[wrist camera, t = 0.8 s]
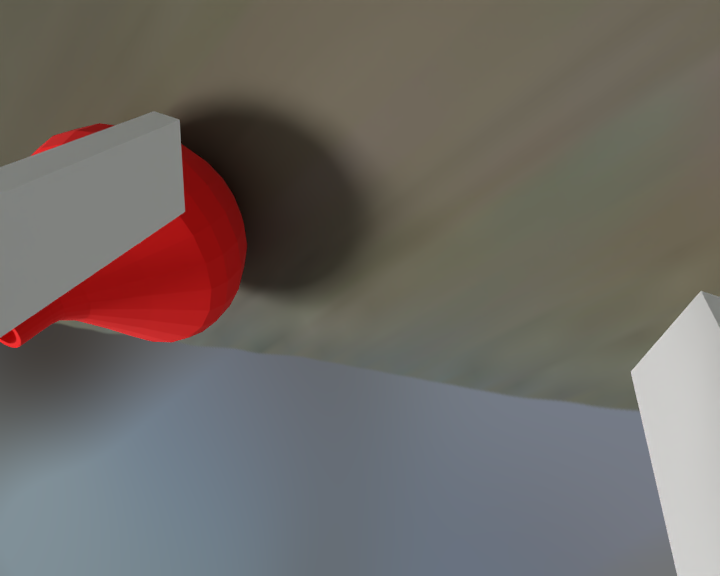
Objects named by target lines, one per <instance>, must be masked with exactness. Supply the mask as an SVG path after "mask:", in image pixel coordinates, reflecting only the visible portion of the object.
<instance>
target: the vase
mask: <svg viewBox="0 0 720 576" xmlns="http://www.w3.org/2000/svg"><path fill="white" fill-rule="evenodd" d="M112 126H115V125H107V124H100V123H99V124H95V125H91V126H87V127H82V128H78V129H75V130H71V131H68V132H64V133H61V134H57V135H54V136H52V137H51V138H50V139H49V140H48V141H46V142H45V143H44V144H43V145H42V146H40V147H39V148H38V149H37V150H36V151H35V152H34V153H33V154H32V155H31V156H33V155H35V154H38V153H41V152H44V151H46V150H49V149H52V148H55V147H57V146H60V145H63V144H66V143H68V142H71V141H74V140H77V139H79V138H82V137H85V136H88V135H90V134H93V133H96V132H98V131H101V130H104V129H107V128H109V127H112ZM181 151H182V168H183V185H184V202H185V212H184V213H183V214H181V215H180V216H178V217H177V218H175V219H174V220H172V221H171V222H169V223H168V224H166V225H165V226H164V227H162V228H161V229H159V230H158V231H156V232H155V233H153V234H152V235H150V236H149V237H147V238H146V239H144V240H143V241H141V242H140V243H139V244H137V245H136V246H134V247H133V248H131V249H130V250H128V251H127V252H125V253H124V254H122V255H121V256H119V257H118V258H116V259H115V260H114V261H112V262H111V263H109V264H108V265H106V266H105V267H103V268H102V269H100V270H99V271H97V272H96V273H94V274H93V275H92V276H90V277H89V278H87V279H86V280H84V281H83V282H81V283H80V284H78V285H77V286H75V287H74V288H72V289H71V290H69V291H68V292H67V293H65V294H64V295H62V296H61V297H59V298H58V299H56V300H55V301H53V302H52V303H50V304H49V305H47V306H46V307H45V308H43V309H42V310H40V311H39V312H37V313H36V314H34V315H33V316H31V317H30V318H28V319H27V320H25V321H24V322H22V323H21V324H20V325H18V326H17V327H15V328H14V329H12V330H11V331H9V332H8V333H6V334H5V335H3V336H2V337H0V342H1V343H3V344H5V345H7V346H9V347H13V348H17V347H19V346H21V345H22V344H24V343H25V342H27V341H28V340H29V339H31V338H32V337H34V336H35V335H36V334H38V333H39V332H40V331H42V330H44V329H45V328H46V327H48V326H49V325H51V324H53V323H55V322H57V321H59V320H76V321H80V322H84V323H88V324H92V325H96V326H100V327H104V328H108V329H111V330H114V331H117V332H121V333H124V334H127V335H131V336H134V337H137V338H142V339H145V340H149V341H153V342H174V341H178V340H181V339H185V338H188V337H191V336H193V335H196V334H198V333H200V332H203V331H204V330H205V329H206V328H208V327H209V326H210V325H212V324H213V323H214V322H215V321H217V319H218V318H219V317H220V316H221V315H222V314H223V313H224V312H225V310H226V309H227V308H228V307H229V306H230V304H231V302H232V301H233V299H234V297H235V295H236V293H237V291H238V289H239V285H240V281H241V277H242V273H243V269H244V265H245V258H246V251H247V242H246V235H245V228H244V222H243V219H242V215H241V212H240V210H239V207H238V205H237V202H236V200H235V197H234V195H233V194H232V192H231V190H230V189H229V187H228V186H227V184H226V183H225V181H224V179H223V178H222V177H221V176H220V175H219V174H218V173H217V172H216V171H215V170H214V168H213V167H212V166H211V165H210V164H209V163H208V162H206V161H205V160H204V159H202V158H201V157H199V156H198V155H197V154H195V153H194V152H192V151H191V150H190V149H188V148H187V147H185V146H184V145H183V144H181Z"/></svg>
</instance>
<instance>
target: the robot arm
mask: <svg viewBox="0 0 720 576" xmlns="http://www.w3.org/2000/svg"><path fill="white" fill-rule="evenodd" d="M184 212H185V202H184V185H183V168H182V151H181V134H180V120H179V119H176V118H173V117H170V116H167V115H164V114H161V113H158V112H155V111H153V112H151V113H148V114H145V115H142V116H140V117H137V118H134V119H131V120H129V121H126V122H123V123H120V124H118V125H115V126H112V127H109V128H107V129H104V130H101V131H98V132H96V133H93V134H90V135H88V136H85V137H82V138H79V139H77V140H74V141H71V142H68V143H66V144H63V145H60V146H57V147H55V148H52V149H49V150H46V151H44V152H41V153H38V154H35V155H33V156H30V157H27V158H24V159H22V160H19V161H16V162H13V163H11V164H8V165H5V166H3V167H0V337H2V336H3V335H5V334H6V333H8V332H9V331H11V330H12V329H14V328H15V327H17V326H18V325H20V324H21V323H22V322H24V321H25V320H27V319H28V318H30V317H31V316H33V315H34V314H36V313H37V312H39V311H40V310H42V309H43V308H45V307H46V306H47V305H49V304H50V303H52V302H53V301H55V300H56V299H58V298H59V297H61V296H62V295H64V294H65V293H67V292H68V291H69V290H71V289H72V288H74V287H75V286H77V285H78V284H80V283H81V282H83V281H84V280H86V279H87V278H89V277H90V276H92V275H93V274H94V273H96V272H97V271H99V270H100V269H102V268H103V267H105V266H106V265H108V264H109V263H111V262H112V261H114V260H115V259H116V258H118V257H119V256H121V255H122V254H124V253H125V252H127V251H128V250H130V249H131V248H133V247H134V246H136V245H137V244H139V243H140V242H141V241H143V240H144V239H146V238H147V237H149V236H150V235H152V234H153V233H155V232H156V231H158V230H159V229H161V228H162V227H164V226H165V225H166V224H168V223H169V222H171V221H172V220H174V219H175V218H177V217H178V216H180V215H181V214H183V213H184ZM631 375H632V379H633V384H634V388H635V392H636V397H637V401H638V405H639V410H640V414H641V418H642V423H643V427H644V431H645V436H646V440H647V445H648V449H649V454H650V458H651V462H652V466H653V471H654V475H655V480H656V484H657V489H658V493H659V497H660V502H661V506H662V510H663V515H664V519H665V523H666V528H667V532H668V536H669V541H670V545H671V550H672V554H673V558H674V563H675V567H676V571H677V576H720V297H718V296H715V295H712V294H709V293H706V292H703V291H700V293H699V294H698V295H697V296H696V297H695V298H694V299H693V301H692V302H691V303H690V304H689V305H688V306H687V308H686V309H685V310H684V311H683V312H682V313H681V314H680V316H679V317H678V318H677V319H676V320H675V321H674V323H673V324H672V325H671V326H670V327H669V328H668V329H667V331H666V332H665V333H664V334H663V335H662V336H661V338H660V339H659V340H658V341H657V342H656V343H655V344H654V346H653V347H652V348H651V349H650V350H649V351H648V353H647V354H646V355H645V356H644V357H643V358H642V359H641V361H640V362H639V363H638V364H637V365H636V366H635V368H634V369H633V370H632V371H631Z"/></svg>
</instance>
